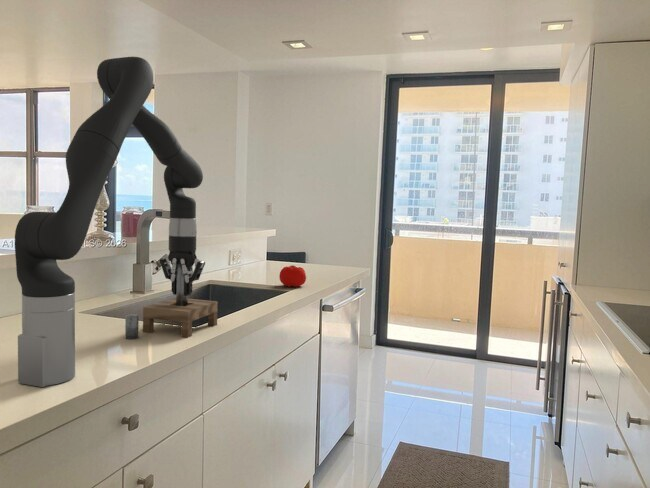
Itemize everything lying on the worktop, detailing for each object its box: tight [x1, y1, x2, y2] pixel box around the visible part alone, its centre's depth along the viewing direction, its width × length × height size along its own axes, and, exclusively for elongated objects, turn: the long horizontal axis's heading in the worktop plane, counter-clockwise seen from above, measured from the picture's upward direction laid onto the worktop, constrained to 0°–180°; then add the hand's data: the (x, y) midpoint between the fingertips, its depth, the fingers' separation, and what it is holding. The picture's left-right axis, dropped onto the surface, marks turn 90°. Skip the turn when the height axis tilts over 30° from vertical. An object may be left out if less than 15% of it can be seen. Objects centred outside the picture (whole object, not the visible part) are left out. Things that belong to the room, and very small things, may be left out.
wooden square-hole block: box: [142, 297, 219, 338], centre depth 146 cm, size 16×14×7 cm
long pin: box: [175, 264, 189, 306], centre depth 145 cm, size 3×3×15 cm
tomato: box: [278, 264, 307, 288], centre depth 227 cm, size 11×12×9 cm
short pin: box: [124, 313, 140, 340], centre depth 134 cm, size 3×3×6 cm
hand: (181, 294), depth 145 cm, fingers closed on long pin, 3 cm apart
